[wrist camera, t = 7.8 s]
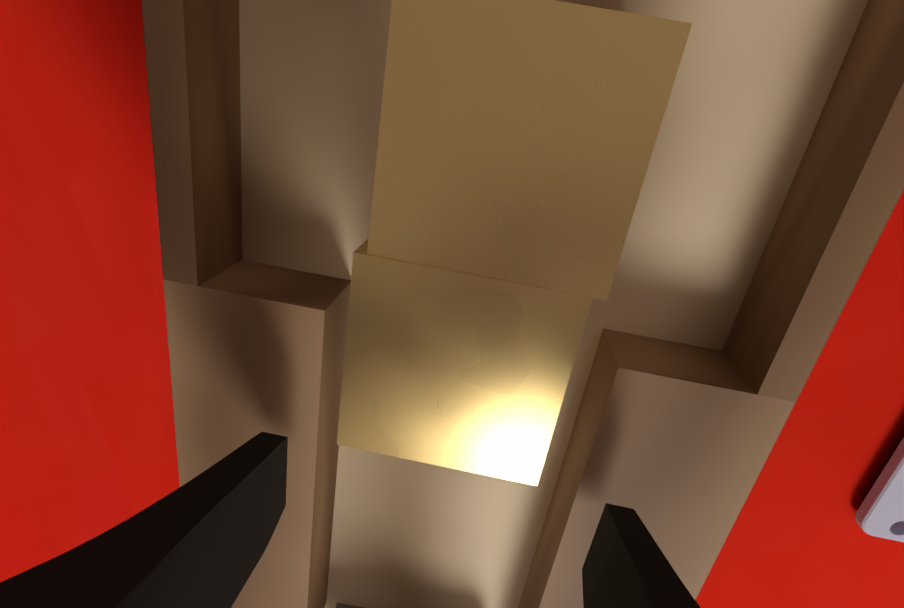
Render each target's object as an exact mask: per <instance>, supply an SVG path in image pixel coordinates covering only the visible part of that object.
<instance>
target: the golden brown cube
mask: <svg viewBox="0 0 904 608" xmlns="http://www.w3.org/2000/svg"><path fill="white" fill-rule="evenodd" d="M691 26H692V23H688V22H682V21H676V20H670V19H664V18H658V17H652V16H646V15H640V14H634V13H628V12H622V11H616V10H610V9H604V8H598V7H592V6H586V5H580V4H574V3H568V2H562V1H556V0H392V5H391V15H390V26H389V36H388V46H387V56H386V66H385V76H384V86H383V97H382V107H381V117H380V127H379V137H378V147H377V157H376V168H375V178H374V188H373V198H372V208H371V218H370V228H369V239H368V249H367V254H368V255H373V256H379V257H384V258H389V259H394V260H399V261H404V262H409V263H415V264H420V265H425V266H430V267H435V268H440V269H445V270H451V271H456V272H461V273H466V274H471V275H476V276H481V277H487V278H492V279H497V280H502V281H507V282H512V283H517V284H523V285H528V286H533V287H538V288H543V289H548V290H553V291H559V292H564V293H569V294H574V295H579V296H584V297H589V298H595V299H600V300H605V301H607V298H608V295H609V291H610V288H611V285H612V282H613V279H614V275H615V272H616V269H617V266H618V262H619V259H620V256H621V253H622V249H623V246H624V243H625V240H626V236H627V233H628V230H629V227H630V224H631V220H632V217H633V214H634V211H635V207H636V204H637V201H638V198H639V194H640V191H641V188H642V185H643V181H644V178H645V175H646V172H647V169H648V165H649V162H650V159H651V156H652V152H653V149H654V146H655V143H656V139H657V136H658V133H659V130H660V126H661V123H662V120H663V117H664V114H665V110H666V107H667V104H668V101H669V97H670V94H671V91H672V88H673V84H674V81H675V78H676V75H677V72H678V68H679V65H680V62H681V59H682V55H683V52H684V49H685V46H686V42H687V39H688V36H689V33H690V29H691Z"/></svg>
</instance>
